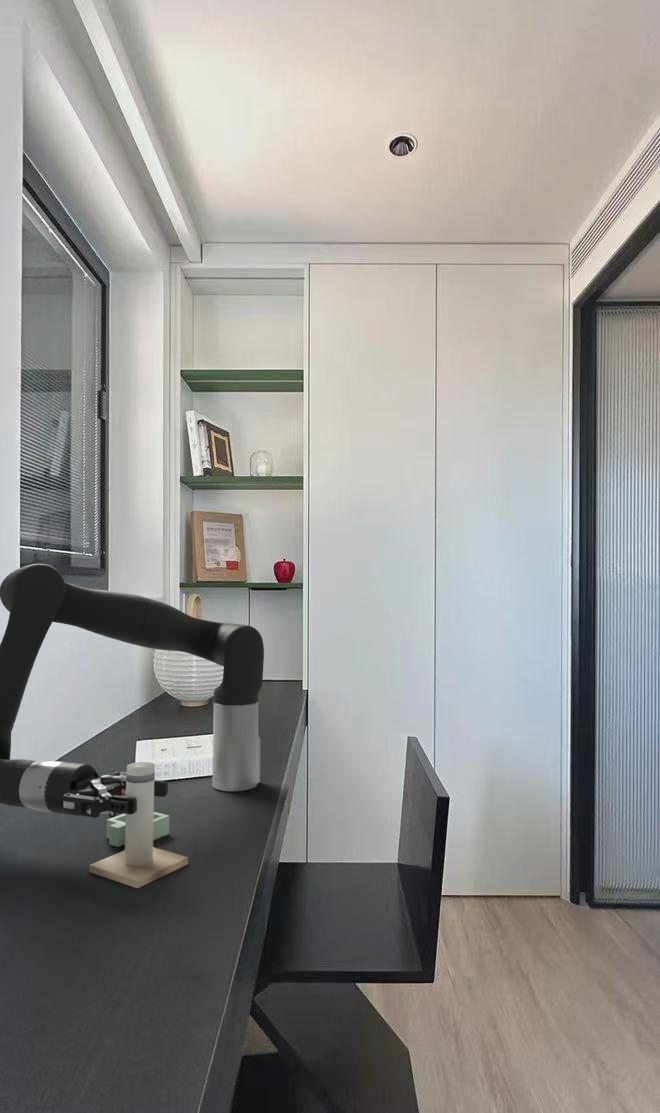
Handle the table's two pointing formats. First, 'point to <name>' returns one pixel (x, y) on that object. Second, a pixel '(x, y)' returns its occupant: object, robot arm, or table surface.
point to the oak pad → (138, 868)
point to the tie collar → (119, 822)
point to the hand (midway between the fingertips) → (151, 797)
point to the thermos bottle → (140, 814)
